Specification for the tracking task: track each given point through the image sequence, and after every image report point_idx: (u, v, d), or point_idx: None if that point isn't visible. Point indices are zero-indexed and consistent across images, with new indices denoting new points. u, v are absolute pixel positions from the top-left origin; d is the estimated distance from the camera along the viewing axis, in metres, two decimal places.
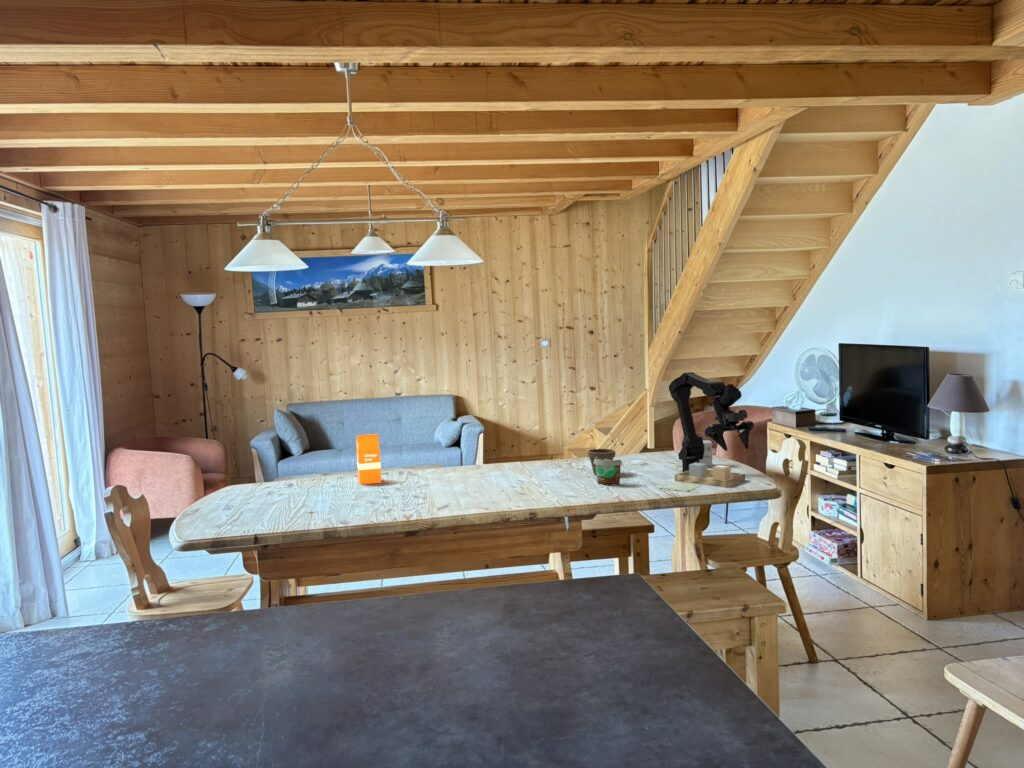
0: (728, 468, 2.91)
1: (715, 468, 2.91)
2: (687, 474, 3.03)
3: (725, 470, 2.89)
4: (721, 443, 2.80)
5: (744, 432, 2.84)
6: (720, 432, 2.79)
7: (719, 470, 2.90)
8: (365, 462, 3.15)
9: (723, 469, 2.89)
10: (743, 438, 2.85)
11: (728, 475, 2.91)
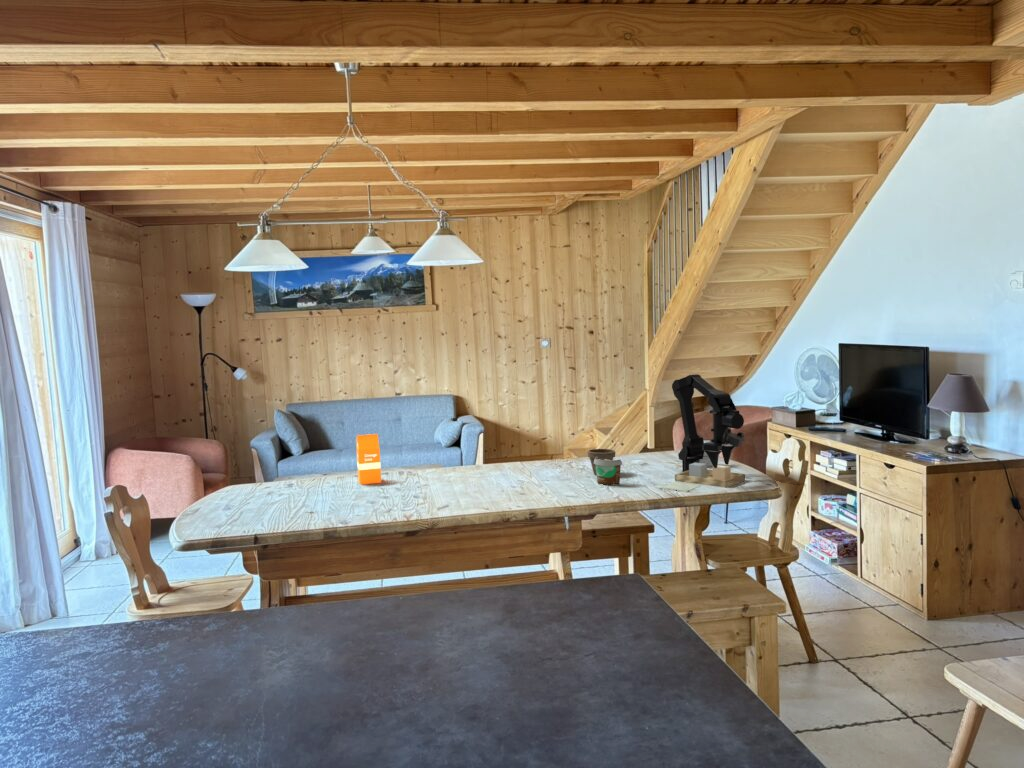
0: (728, 468, 2.91)
1: (715, 468, 2.91)
2: (687, 474, 3.03)
3: (725, 470, 2.89)
4: (714, 460, 2.88)
5: (729, 448, 2.95)
6: (719, 452, 2.85)
7: (719, 470, 2.90)
8: (365, 462, 3.15)
9: (723, 469, 2.89)
10: (726, 453, 2.96)
11: (728, 475, 2.91)
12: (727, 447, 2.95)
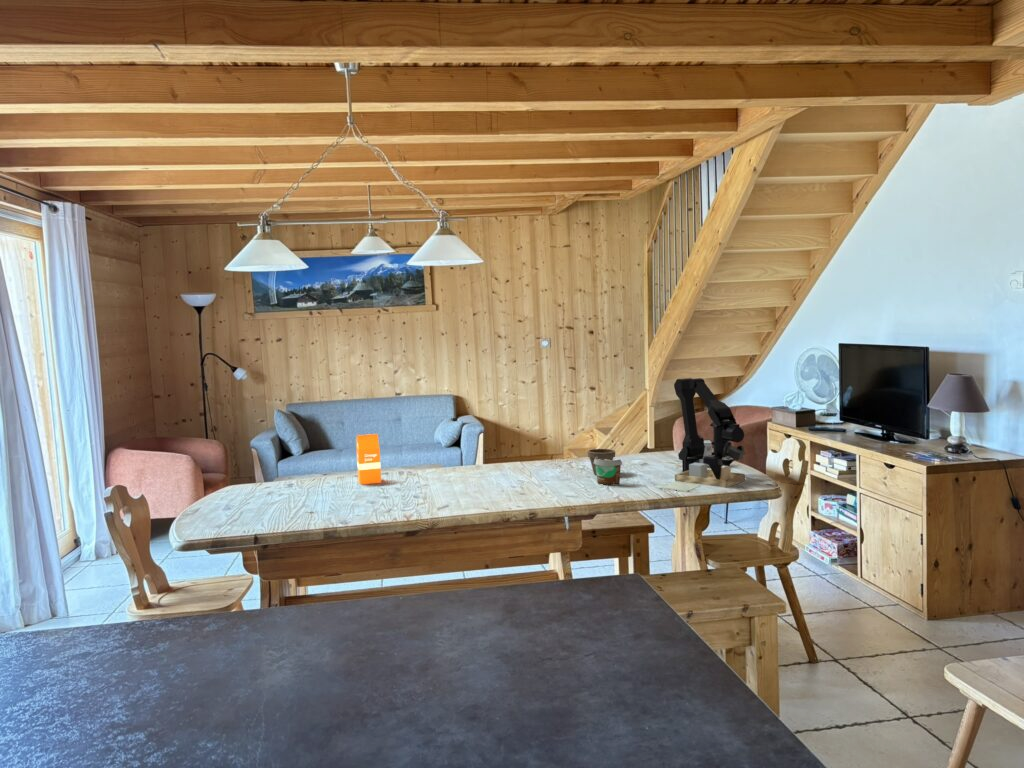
0: (728, 468, 2.91)
1: None
2: (687, 474, 3.03)
3: (725, 470, 2.89)
4: (716, 473, 2.90)
5: (727, 462, 2.94)
6: (722, 465, 2.87)
7: None
8: (365, 462, 3.15)
9: (723, 469, 2.89)
10: None
11: (728, 475, 2.91)
12: (725, 461, 2.94)
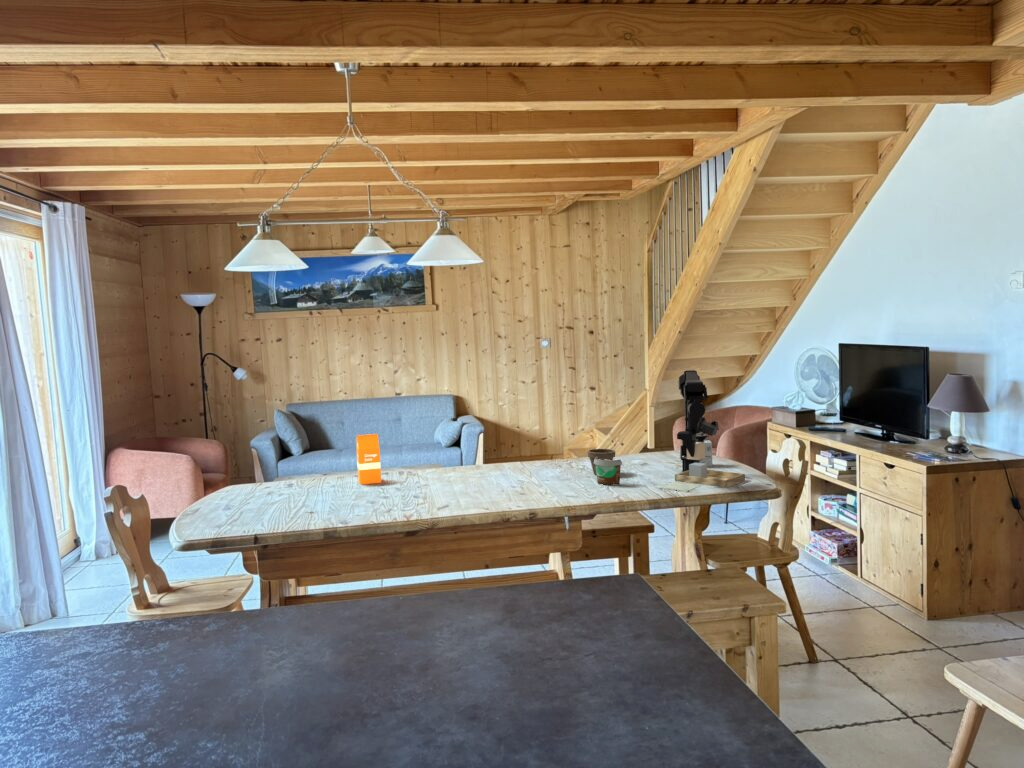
0: (702, 444, 2.87)
1: None
2: (687, 474, 3.03)
3: (699, 446, 2.85)
4: (690, 449, 2.85)
5: (701, 438, 2.89)
6: (696, 441, 2.83)
7: None
8: (365, 462, 3.15)
9: (697, 445, 2.84)
10: None
11: (703, 451, 2.87)
12: (699, 437, 2.90)
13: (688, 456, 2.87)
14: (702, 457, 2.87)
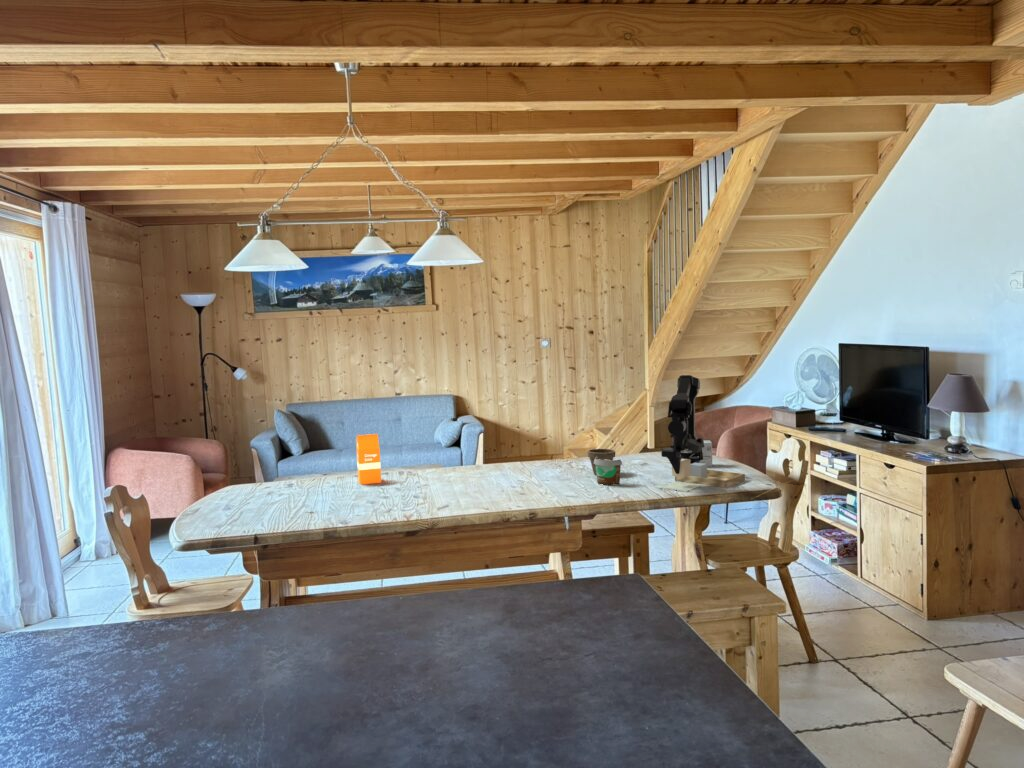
0: (688, 461, 2.86)
1: None
2: None
3: (684, 463, 2.84)
4: (675, 466, 2.84)
5: (687, 455, 2.88)
6: (680, 458, 2.82)
7: None
8: (365, 462, 3.15)
9: (682, 462, 2.84)
10: None
11: (688, 468, 2.86)
12: (685, 454, 2.89)
13: (673, 473, 2.87)
14: (687, 474, 2.86)
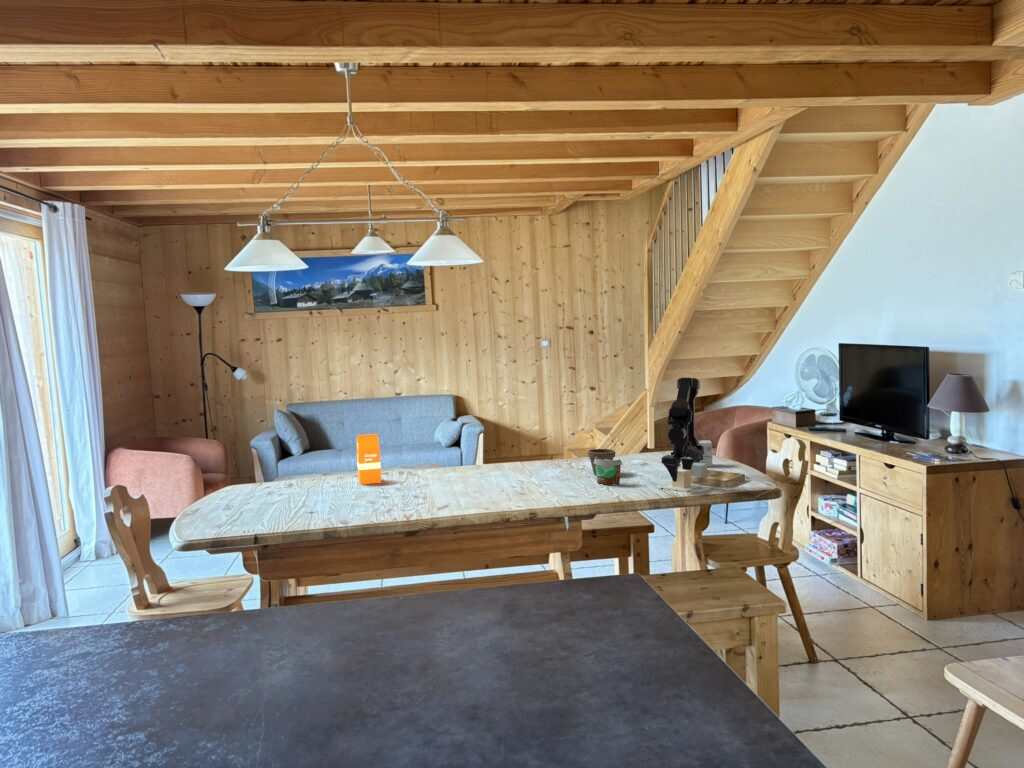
0: (688, 472, 2.86)
1: None
2: None
3: (684, 474, 2.84)
4: (673, 474, 2.83)
5: (690, 461, 2.90)
6: (678, 466, 2.80)
7: (678, 474, 2.85)
8: (365, 462, 3.15)
9: (682, 473, 2.84)
10: (686, 466, 2.91)
11: (688, 479, 2.86)
12: (687, 460, 2.91)
13: (673, 484, 2.87)
14: (687, 485, 2.86)
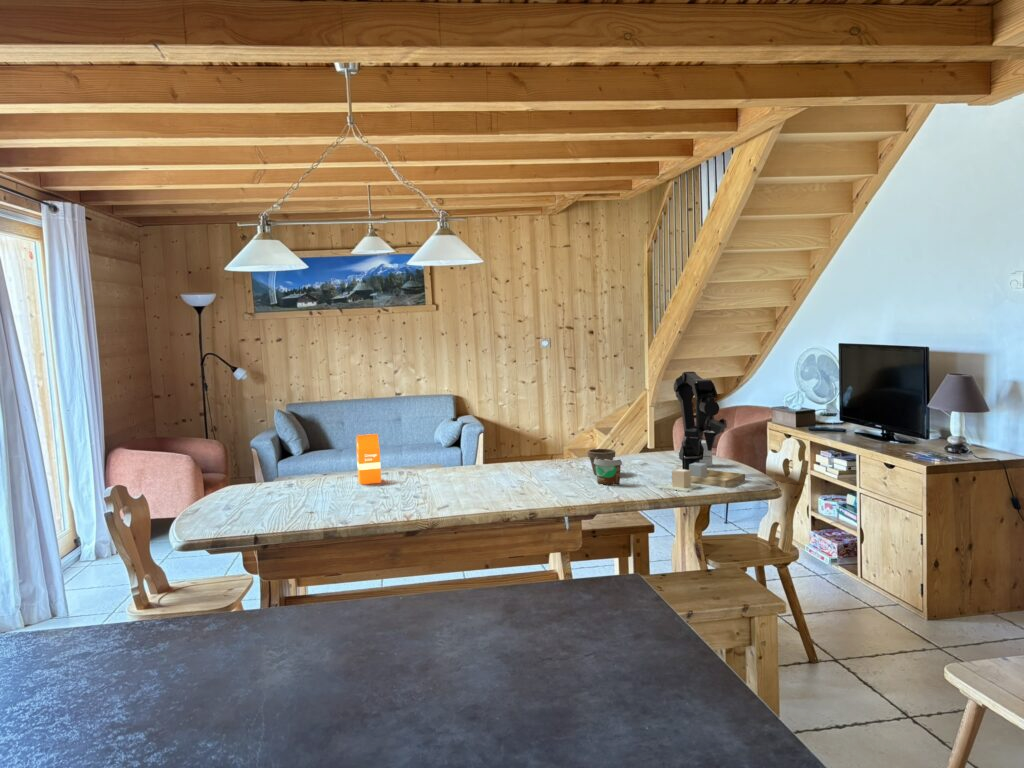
0: (688, 472, 2.86)
1: (674, 472, 2.86)
2: None
3: (684, 474, 2.84)
4: (695, 447, 2.89)
5: (713, 435, 2.95)
6: (700, 439, 2.86)
7: (678, 474, 2.85)
8: (365, 462, 3.15)
9: (682, 473, 2.84)
10: (709, 439, 2.96)
11: (688, 479, 2.86)
12: (710, 434, 2.96)
13: (673, 484, 2.87)
14: (687, 485, 2.86)
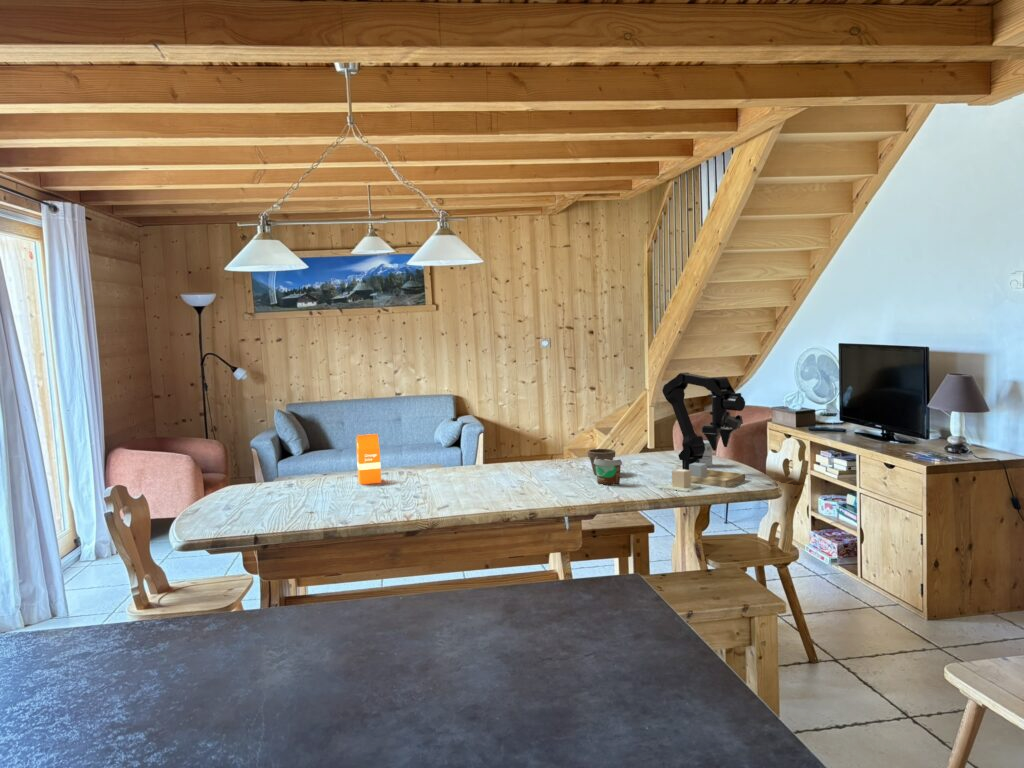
0: (688, 472, 2.86)
1: (674, 472, 2.86)
2: None
3: (684, 474, 2.84)
4: (713, 443, 2.93)
5: (728, 431, 3.00)
6: (718, 435, 2.90)
7: (678, 474, 2.85)
8: (365, 462, 3.15)
9: (682, 473, 2.84)
10: (724, 436, 3.01)
11: (688, 479, 2.86)
12: (726, 430, 3.01)
13: (673, 484, 2.87)
14: (687, 485, 2.86)
